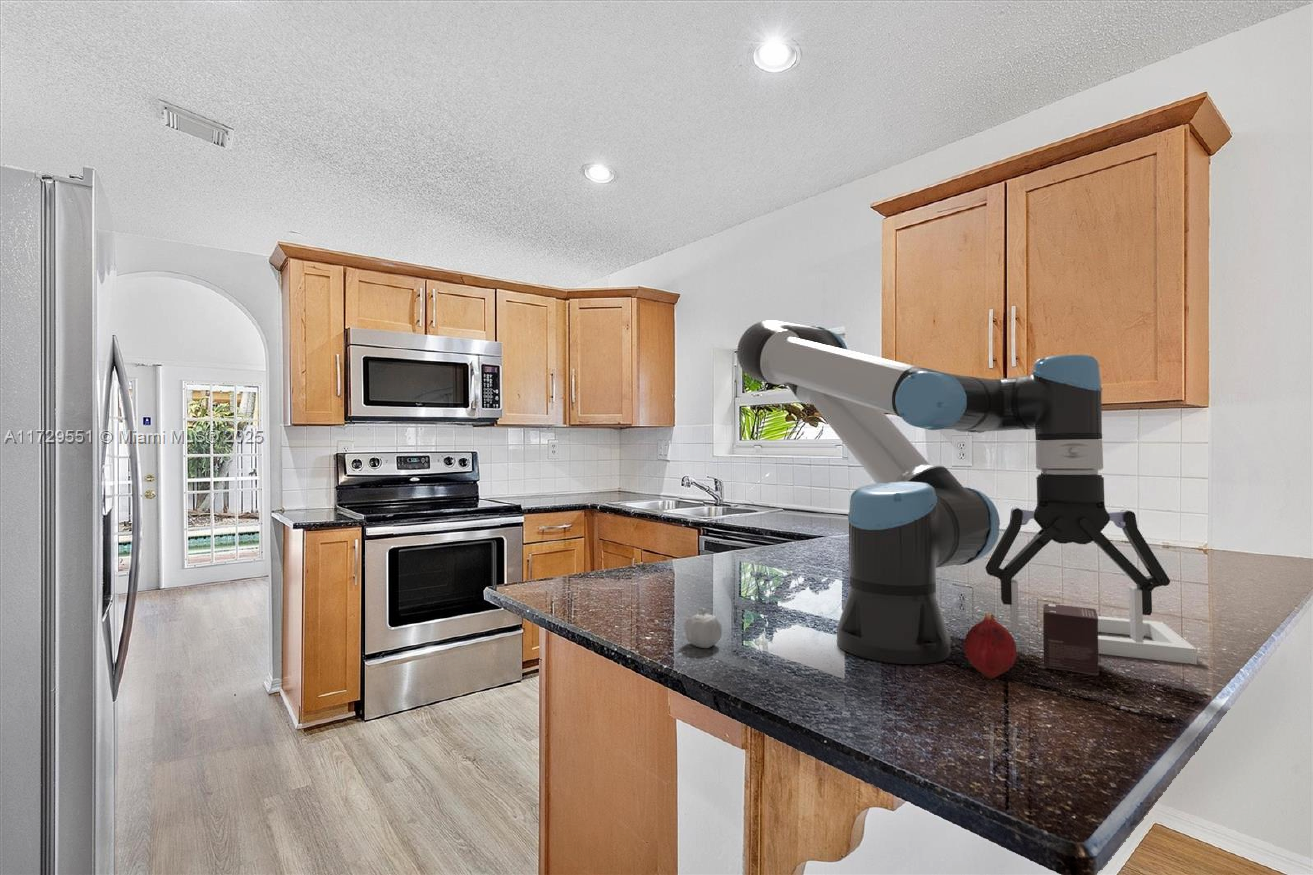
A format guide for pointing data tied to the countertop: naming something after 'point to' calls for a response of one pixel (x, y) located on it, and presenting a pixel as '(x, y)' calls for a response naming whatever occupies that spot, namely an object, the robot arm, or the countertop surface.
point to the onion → (990, 647)
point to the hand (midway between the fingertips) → (1073, 634)
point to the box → (1070, 638)
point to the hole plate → (1144, 642)
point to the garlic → (703, 629)
